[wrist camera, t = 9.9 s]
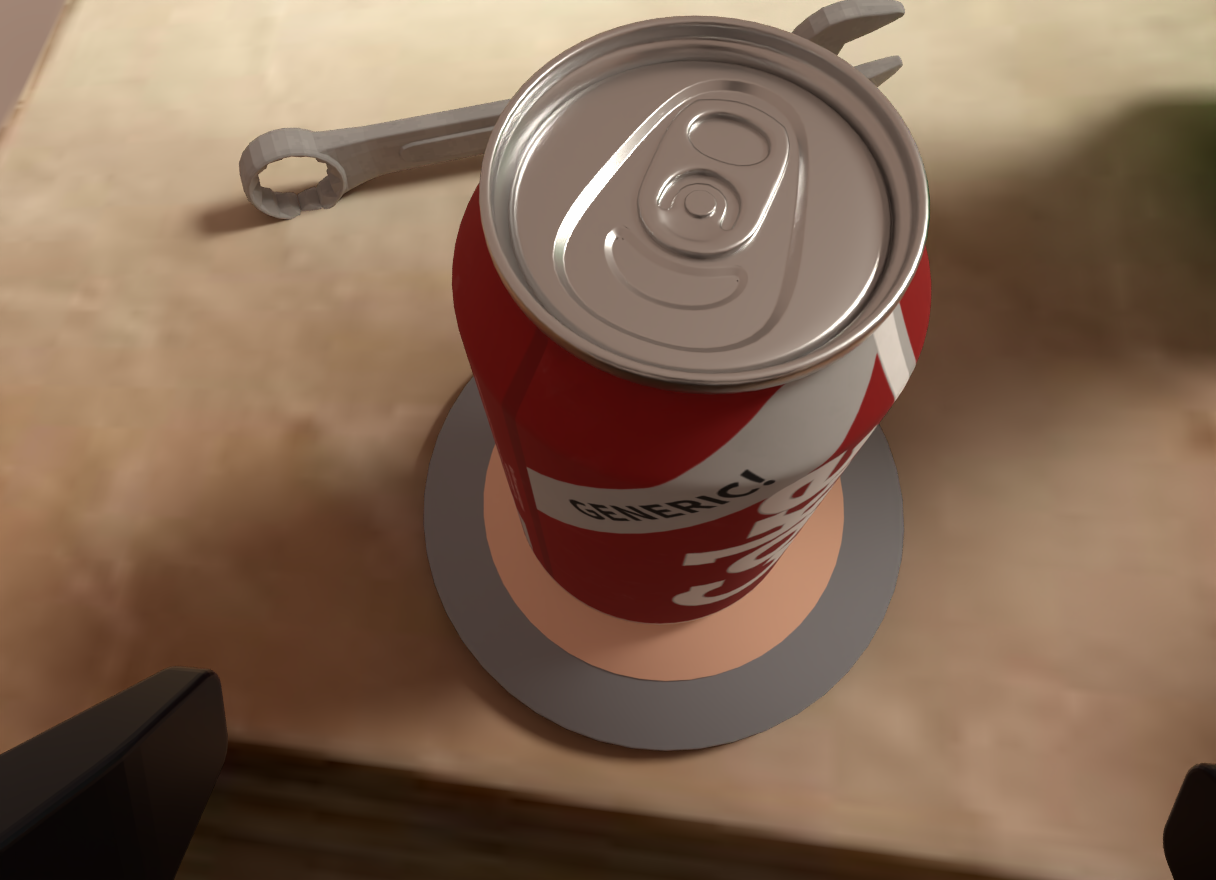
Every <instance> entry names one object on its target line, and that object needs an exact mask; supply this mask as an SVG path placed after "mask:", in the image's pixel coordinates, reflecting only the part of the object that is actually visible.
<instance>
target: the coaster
mask: <svg viewBox="0 0 1216 880" xmlns="http://www.w3.org/2000/svg"><path fill="white" fill-rule="evenodd" d="M424 531H425V540H426V550H427V556H428V560H429V564H430V568H431V572H432V576H433V580H434V584H435V586H436V589H437V591H438V594H439V596H440V598H441V601H442V603H443V606H444V608H445V611H446V613H447V615H448V617H449V618H450V620H451V622H452V624H453V625H454V627H455V629H456V631H457V632H458V634H459V636H460V637H461V639H462V641H463V642H464V644H465V645H466V646H467V647H468V649H469V650H470V651H471V653H472V654H473V655H474V656H475V658H476V659H477V660H478V661H479V663H480V664H481V665H482V667H483V668H484V669H485V670H486V671H487V672H488V673H489V674H490V675H491V676H492V677H493V678H494V679H495V680H497V681H498V682H499V683H500V684H501V685H502V686H503V687H504V688H505V689H506V690H507V691H508V692H509V693H510V694H511V695H513V696H514V697H515V698H517V699H518V700H519V701H521V702H522V703H524V704H525V705H526V706H528V707H529V708H530V709H532V710H533V711H534V712H536V713H537V714H539V715H541V716H543V717H545V718H547V719H549V720H550V721H552V722H554V723H556V724H558V725H560V726H561V727H563V728H565V729H567V730H570V731H573V732H575V733H578V734H581V735H583V736H586V737H589V738H592V739H594V740H597V741H601V742H605V743H610V744H614V745H619V746H623V747H627V748H634V749H646V750H658V751H675V750H692V749H702V748H707V747H712V746H717V745H722V744H727V743H732V742H735V741H737V740H740V739H743V738H746V737H749V736H752V735H755V734H757V733H760V732H763V731H766V730H768V729H770V728H772V727H774V726H776V725H778V724H780V723H782V722H783V721H785V720H787V719H789V718H791V717H793V716H795V715H797V714H798V713H800V712H801V711H803V710H804V709H805V708H807V707H808V706H810V705H811V704H812V703H814V702H815V701H816V700H818V699H819V698H821V697H822V696H823V695H825V694H826V693H827V692H828V691H829V690H830V689H831V688H832V687H833V686H834V685H835V684H836V683H837V682H838V681H839V680H840V679H841V678H842V677H843V676H844V675H845V674H846V673H848V671H849V670H850V669H851V667H852V666H853V665H854V664H855V662H856V661H857V660H858V658H859V657H860V656H861V655H862V653H863V652H864V651H865V649H866V648H867V647H868V645H869V643H870V642H871V640H872V638H873V636H874V634H875V633H876V631H877V629H878V627H879V626H880V624H881V622H882V620H883V618H884V616H885V613H886V611H887V608H888V605H889V603H890V600H891V598H892V595H893V593H894V590H895V586H896V581H897V577H898V573H899V568H900V564H901V560H902V548H903V536H904V518H903V499H902V494H901V489H900V483H899V478H898V473H897V469H896V466H895V463H894V460H893V457H892V454H891V451H890V448H889V444H888V442H887V439H886V437H885V435H884V433H883V431H882V429H881V427H880V425H879V424H878V425H877V427H876V428H875V430H874V431H873V432H872V434H871V435H870V436H869V438H868V439H867V440H866V442H865V443H864V445H863V446H862V447H861V449H860V450H859V451H858V453H857V454H856V455H855V457H854V458H853V459H852V461H851V462H850V464H849V465H848V466H847V468H846V469H845V470H844V472H843V473H842V474H841V476H840V477H839V478H838V480H837V481H836V483H835V484H834V485H833V487H832V488H831V489H830V491H829V492H828V493H827V495H826V496H825V498H824V499H823V500H822V502H821V503H820V504H819V506H818V507H817V508H816V510H815V511H814V512H813V514H812V515H811V517H810V518H809V519H808V521H807V522H806V523H805V525H804V526H803V527H802V529H801V530H800V532H799V533H798V534H797V536H796V537H795V538H794V540H793V541H792V542H791V544H790V545H789V546H788V548H787V549H786V551H785V552H784V553H783V555H782V556H781V557H780V559H779V560H778V561H777V563H776V564H775V566H774V567H773V568H772V570H771V571H770V572H769V573H768V574H767V576H766V577H765V578H764V579H763V580H762V582H761V583H759V584H758V585H757V586H756V587H755V588H754V589H753V590H752V591H751V592H750V593H748V594H747V595H746V596H745V597H743V598H742V599H741V600H739V601H738V602H736V603H734V604H733V605H731V606H729V607H728V608H726V609H724V610H722V611H719V612H717V613H715V614H713V615H710V616H707V617H704V618H701V619H698V620H694V621H690V622H684V623H677V624H665V625H654V624H641V623H634V622H629V621H625V620H621V619H617V618H614V617H611V616H608V615H605V614H603V613H600V612H598V611H596V610H594V609H592V608H590V607H588V606H586V605H585V604H583V603H581V602H580V601H578V600H577V599H575V598H574V597H573V596H571V595H570V594H569V593H567V592H566V591H565V590H564V589H563V588H561V587H560V586H559V585H558V584H557V583H556V582H555V581H554V580H553V579H552V578H551V577H550V575H549V574H548V573H547V572H546V571H545V569H544V568H543V567H542V565H541V564H540V563H539V561H538V560H537V558H536V556H535V555H534V553H533V551H532V549H531V548H530V545H529V543H528V541H527V539H526V536H525V534H524V531H523V528H522V525H521V522H520V519H519V515H518V512H517V509H516V506H515V503H514V500H513V497H512V494H511V491H510V487H509V484H508V481H507V478H506V475H505V472H504V469H503V466H502V462H501V459H500V456H499V453H498V450H497V447H496V444H495V441H494V438H493V434H492V431H491V428H490V425H489V422H488V419H487V416H486V413H485V410H484V406H483V403H482V400H481V397H480V394H479V391H478V388H477V385H476V381H475V378H474V376H473V377H472V379H471V380H470V381H469V382H468V383H467V385H466V386H465V387H464V389H463V391H462V392H461V394H460V395H459V397H458V398H457V400H456V402H455V403H454V405H453V406H452V408H451V409H450V411H449V414H448V416H447V418H446V420H445V422H444V424H443V427H442V429H441V431H440V433H439V435H438V438H437V441H436V444H435V448H434V451H433V454H432V457H431V460H430V464H429V469H428V475H427V481H426V487H425V493H424Z"/></svg>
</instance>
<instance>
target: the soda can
mask: <svg viewBox="0 0 1216 880" xmlns="http://www.w3.org/2000/svg"><path fill="white" fill-rule="evenodd" d="M929 219H930V197H929V188H928V180H927V176H926V172H925V167H924V163H923V161H922V158H921V155H920V152H919V149H918V147H917V145H916V143H915V140H914V138H913V136H912V134H911V132H910V130H909V129H908V127H907V125H906V124H905V122H904V120H903V119H902V117H901V116H900V114H899V113H898V111H897V110H896V109H895V108H894V106H893V105H892V104H891V102H890V101H889V100H888V99H887V98H886V96H885V95H884V94H883V93H882V92H881V91H880V90H879V89H878V88H877V87H876V86H875V85H874V84H873V83H872V82H871V81H870V80H869V79H868V78H866V77H865V76H864V75H863V74H862V73H861V72H859V71H858V70H857V69H855V68H854V67H853V66H851V65H850V64H849V63H848V62H846V61H845V60H843V59H841V58H840V57H838V56H837V55H835V54H834V53H832V52H830V51H829V50H827V49H825V48H823V47H821V46H819V45H817V44H815V43H813V42H811V41H809V40H807V39H804V38H802V37H800V36H798V35H795V34H793V33H790V32H787V31H784V30H781V29H778V28H775V27H771V26H768V25H764V24H760V23H756V22H751V21H746V20H740V19H734V18H725V17H716V16H674V17H665V18H656V19H650V20H645V21H640V22H635V23H631V24H627V25H624V26H620V27H616V28H614V29H611V30H608V31H605V32H602V33H599V34H597V35H595V36H593V37H590V38H588V39H586V40H584V41H581V42H580V43H578V44H576V45H574V46H572V47H571V48H569V49H567V50H565V51H564V52H562V53H561V54H559V55H558V56H556V57H555V58H553V59H552V60H550V61H549V62H548V63H546V64H545V65H544V66H543V67H542V68H540V69H539V70H538V71H537V72H535V73H534V74H533V75H532V76H531V77H530V78H529V79H528V80H527V81H526V82H525V83H524V84H523V85H522V86H521V88H520V89H519V90H518V91H517V92H516V94H515V95H514V96H513V97H512V98H511V100H510V101H509V103H508V104H507V106H506V107H505V109H504V110H503V112H502V113H501V115H500V117H499V119H498V121H497V123H496V125H495V126H494V128H493V130H492V133H491V136H490V138H489V141H488V144H487V146H486V150H485V154H484V158H483V162H482V168H481V175H480V183H479V184H478V186H477V187H476V189H475V191H474V193H473V195H472V197H471V199H470V201H469V203H468V205H467V208H466V211H465V213H464V216H463V219H462V221H461V224H460V228H459V232H458V235H457V239H456V243H455V250H454V258H453V265H452V290H453V301H454V309H455V314H456V319H457V323H458V328H459V332H460V335H461V338H462V341H463V344H464V347H465V350H466V353H467V357H468V360H469V363H470V366H471V369H472V372H473V375H474V378H475V381H476V385H477V388H478V391H479V394H480V397H481V400H482V403H483V406H484V410H485V413H486V416H487V419H488V422H489V425H490V428H491V431H492V434H493V438H494V441H495V444H496V447H497V450H498V453H499V456H500V459H501V462H502V466H503V469H504V472H505V475H506V478H507V481H508V484H509V487H510V491H511V494H512V497H513V500H514V503H515V506H516V509H517V512H518V515H519V519H520V522H521V525H522V528H523V531H524V534H525V536H526V539H527V541H528V543H529V545H530V548H531V549H532V551H533V553H534V555H535V556H536V558H537V560H538V561H539V563H540V564H541V565H542V567H543V568H544V569H545V571H546V572H547V573H548V574H549V575H550V577H551V578H552V579H553V580H554V581H555V582H556V583H557V584H558V585H559V586H560V587H561V588H563V589H564V590H565V591H566V592H567V593H569V594H570V595H571V596H573V597H574V598H575V599H577V600H578V601H580V602H581V603H583V604H585V605H586V606H588V607H590V608H592V609H594V610H596V611H598V612H600V613H603V614H605V615H608V616H611V617H614V618H617V619H621V620H625V621H629V622H634V623H641V624H654V625H665V624H677V623H684V622H690V621H694V620H698V619H701V618H704V617H707V616H710V615H713V614H715V613H717V612H719V611H722V610H724V609H726V608H728V607H729V606H731V605H733V604H734V603H736V602H738V601H739V600H741V599H742V598H743V597H745V596H746V595H747V594H748V593H750V592H751V591H752V590H753V589H754V588H755V587H756V586H757V585H758V584H759V583H761V582H762V580H763V579H764V578H765V577H766V576H767V574H768V573H769V572H770V571H771V570H772V568H773V567H774V566H775V564H776V563H777V561H778V560H779V559H780V557H781V556H782V555H783V553H784V552H785V551H786V549H787V548H788V546H789V545H790V544H791V542H792V541H793V540H794V538H795V537H796V536H797V534H798V533H799V532H800V530H801V529H802V527H803V526H804V525H805V523H806V522H807V521H808V519H809V518H810V517H811V515H812V514H813V512H814V511H815V510H816V508H817V507H818V506H819V504H820V503H821V502H822V500H823V499H824V498H825V496H826V495H827V493H828V492H829V491H830V489H831V488H832V487H833V485H834V484H835V483H836V481H837V480H838V478H839V477H840V476H841V474H842V473H843V472H844V470H845V469H846V468H847V466H848V465H849V464H850V462H851V461H852V459H853V458H854V457H855V455H856V454H857V453H858V451H859V450H860V449H861V447H862V446H863V445H864V443H865V442H866V440H867V439H868V438H869V436H870V435H871V434H872V432H873V431H874V430H875V428H876V427H877V425H878V424H879V423H880V421H881V420H882V419H883V417H884V416H885V415H886V413H887V412H888V411H889V409H890V408H891V406H892V405H893V403H894V402H895V401H896V399H897V398H898V396H899V395H900V393H901V392H902V390H903V389H904V387H905V385H906V383H907V381H908V380H909V378H910V376H911V374H912V372H913V370H914V368H915V366H916V363H917V361H918V358H919V355H920V353H921V350H922V347H923V344H924V340H925V336H926V332H927V328H928V323H929V316H930V308H931V276H930V266H929V259H928V255H927V250H926V246H925V243H926V239H927V234H928V227H929Z"/></svg>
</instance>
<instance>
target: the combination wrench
mask: <svg viewBox="0 0 1216 880" xmlns="http://www.w3.org/2000/svg"><path fill="white" fill-rule="evenodd" d="M904 13H905V9H904V6H903V5H902V3H901V2H898V1H895V0H844V1H840V2H837V3H834V4H831V5H829V6H826V7H823V8H821V9H820V10H818V11H817V12H815V13H814V14H812V15H811V16H809V17H808V18H807V19H805V20H804V21H803V22H802V23H801V24H800V25H798V26H797V27H796V28H795V29H794V31H793V32H792V33H793V34H795V35H798V36H800V37H802V38H804V39H807V40H809V41H811V42H813V43H815V44H817V45H819V46H821V47H823V48H825V49H827V50H829V51H830V52H832V53H834V54H835V55H838V53H839V52H840V50H841V49H842V47H843V45H844V44H845V43H847V42H850V41H852V40H854V39H857V38H859V37H861V36H864V35H866V34H868V33H871V32H873V31H875V30H877V29H879V28H881V27H883V26H885V25H887V24H889V23H891V22H893V21H895V20H897V19H898V18H900V17H902V16H903V15H904ZM902 65H903V64H902V60H901V58H900V57H899V56H891V57H886V58H882V59H879V60H875V61H871V62H867V63H864V64H861V65H858V66H855V67H854V68H855V69H857V70H858V71H859V72H861V73H862V74H863V75H864V76H865V77H866V78H868V79H869V80H870V81H871V82H872V83H873V84H874V85H875V86H876V87H878V86H879V85H881V84H882V83H883V82H885V81H886V80H887V79H888V78H890V77H891V76H892V75H894V74H895V73H896V72H897V71H898V70H899V69H900V68H901V67H902ZM510 100H511V99H508V100H502V101H497V102H491V103H486V104H481V105H475V106H470V107H465V108H459V109H454V110H449V111H443V112H438V113H432V114H427V115H422V116H416V117H411V118H406V119H400V120H395V121H390V122H384V123H379V124H374V125H367V126H363V127H354V128H345V129H337V130H330V131H321V132H313V131H311V130H306V129H300V128H282V129H277V130H273V131H269V132H267V133H265V134H263V135H260V136H259V137H257V138H256V139H255V140H253V141H252V142H251V143H249V145H248V146H247V147H246V149H245V150H244V151H243V153H242V156H241V159H240V162H239V170H240V177H241V181H242V185H243V189H244V192H245V194H246V196H247V198H248V200H249V201H250V202H251V203H252V204H253V205H254V206H255V207H256V208H257V209H258V210H260V211H261V212H263V213H265V214H267V215H269V216H272V217H276V218H280V219H292V218H295V217H296V216H298V215H300V212H301V211H310V210H317V209H321V208H322V207H323V208H324V209H328V208H331V207H333V206H334V205H335V204H336V203H337V202H338V201H339V199H340V198H341V197H342V195H343V194H344V193H346V192H348V191H349V190H351V189H353V188H355V187H357V186H358V185H360V184H362V183H364V182H366V181H368V180H371V179H373V178H375V177H378V176H381V175H384V174H388V173H393V172H398V171H403V170H407V169H412V168H417V167H422V166H427V165H432V164H437V163H442V162H447V161H452V160H456V159H461V158H466V157H471V156H476V155H481V154H485V150H486V146H487V144H488V141H489V138H490V136H491V133H492V130H493V128H494V126H495V125H496V123H497V121H498V119H499V117H500V115H501V113H502V112H503V110H504V109H505V107H506V106H507V104H508V103H509V101H510ZM291 156H293V157H305V156H306V157H313V158H316V160H317V161H318V162H322V163H326V164H327V168H328V169H327V174H328V176H326V177H325V178H324V179H323V180H321V181H320V182H319V184H318V186H317V188H316V187H312V188H309V189H306V190H304V191H303V192H301V193H299V194H298V195H296V194H295V193H290V192H287V193H280V192H273V191H272V190H271V189H270V188H264V187H261V186H260V182H259V177H258V174H259V173H261V172H262V171H263V170H264V169H266V167H267V165H268V164H269V163H272V162H275V161H279V160H282V159H283V158H287V157H291ZM297 197H298V198H297ZM298 201H299V202H298ZM299 204H300V206H299ZM300 208H301V209H300Z"/></svg>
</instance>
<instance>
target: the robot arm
mask: <svg viewBox="0 0 1216 880" xmlns="http://www.w3.org/2000/svg"><path fill="white" fill-rule="evenodd" d="M227 747H228V735H227V727H226V719H225V711H224V704H223V696H222V688H221V683H220V679H219V677H218V675H217V674H216V673H215V672H214V671H212V670H210V669H204V668H194V667H183V666H172V667H168V668H166V669H164V670H162V671H160V672H158V673H156V674H154V675H152V676H150V677H148V678H147V679H145V680H143V681H141V682H139V683H137V684H135V685H133V686H131V687H129V688H127V689H125V690H123V691H122V692H120V693H118V694H116V695H114V696H112V697H110V698H108V699H106V700H104V701H102V702H100V703H98V704H97V705H95V706H93V707H91V708H89V709H87V710H85V711H83V712H81V713H79V714H77V715H75V716H74V717H72V718H70V719H68V720H66V721H64V722H62V723H60V724H58V725H56V726H54V727H52V728H50V729H49V730H47V731H45V732H43V733H41V734H39V735H37V736H35V737H33V738H31V739H29V740H27V741H26V742H24V743H22V744H20V745H18V746H16V747H14V748H12V749H10V750H8V751H6V752H4V753H2V754H1V755H0V880H174V878H175V875H176V873H177V871H178V868H179V866H180V864H181V862H182V859H183V857H184V855H185V852H186V850H187V848H188V845H189V843H190V841H191V838H192V836H193V834H194V831H195V829H196V827H197V825H198V822H199V820H200V818H201V815H202V813H203V811H204V808H205V806H206V804H207V801H208V799H209V797H210V794H211V792H212V790H213V788H214V785H215V783H216V781H217V778H218V776H219V774H220V771H221V769H222V767H223V764H224V761H225V757H226V753H227ZM1163 848H1164V853H1165V857H1166V860H1167V863H1168V866H1169V868H1170V871H1171V873H1172V876H1173V879H1174V880H1216V764H1212V763H1200V764H1196V765H1195V766H1193V767H1192V768H1191V769H1190V770H1189V771H1188V772H1187V774H1186V776H1185V779H1184V781H1183V784H1182V786H1181V788H1180V791H1179V793H1178V796H1177V798H1176V801H1175V803H1174V805H1173V808H1172V810H1171V813H1170V815H1169V818H1168V820H1167V822H1166V825H1165V828H1164V834H1163Z"/></svg>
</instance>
